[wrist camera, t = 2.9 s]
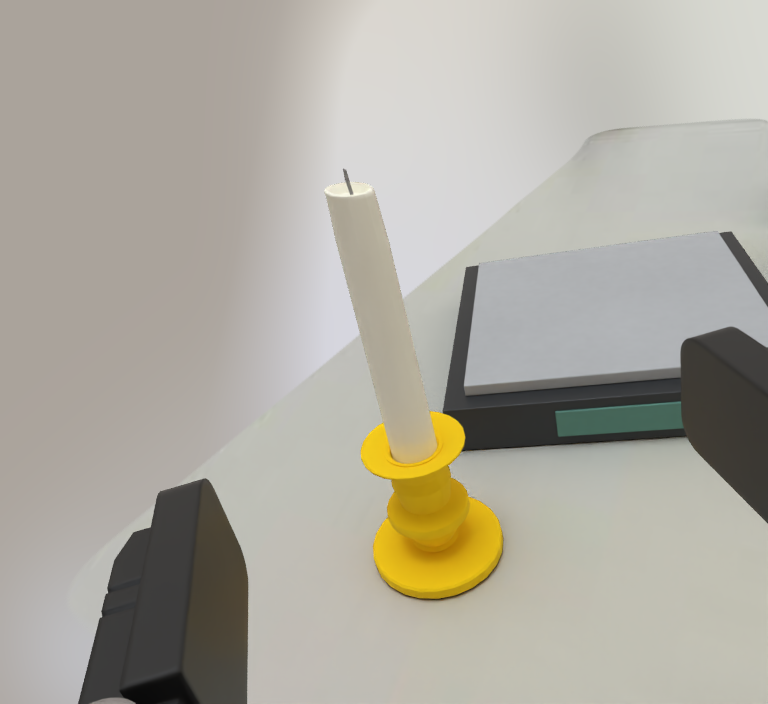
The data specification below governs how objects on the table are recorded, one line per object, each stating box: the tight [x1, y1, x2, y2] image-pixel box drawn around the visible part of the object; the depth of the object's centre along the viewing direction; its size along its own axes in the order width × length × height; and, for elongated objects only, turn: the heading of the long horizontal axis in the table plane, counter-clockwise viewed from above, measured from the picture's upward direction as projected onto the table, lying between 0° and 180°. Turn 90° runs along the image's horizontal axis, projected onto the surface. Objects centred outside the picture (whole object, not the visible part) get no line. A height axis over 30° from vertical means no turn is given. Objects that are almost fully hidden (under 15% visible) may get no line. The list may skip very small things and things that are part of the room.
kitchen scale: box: [443, 231, 768, 450], centre depth 36 cm, size 16×16×3 cm
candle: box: [324, 169, 503, 599], centre depth 23 cm, size 5×5×16 cm
